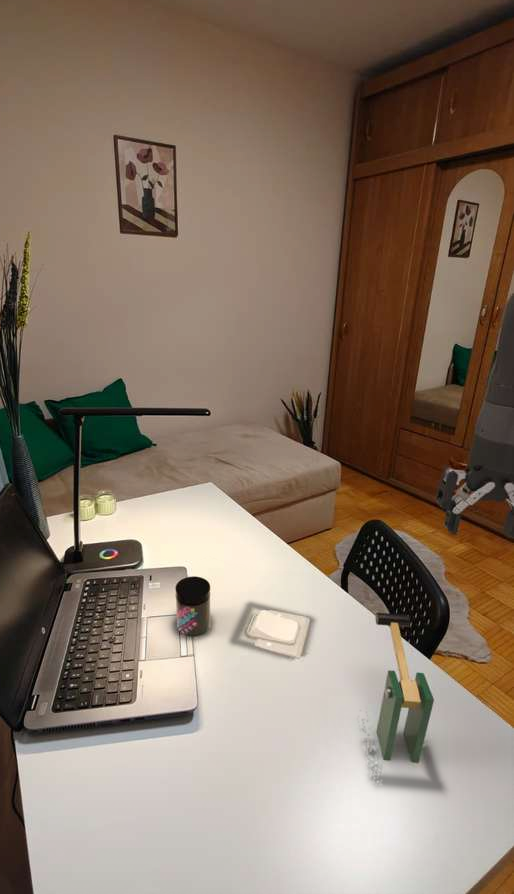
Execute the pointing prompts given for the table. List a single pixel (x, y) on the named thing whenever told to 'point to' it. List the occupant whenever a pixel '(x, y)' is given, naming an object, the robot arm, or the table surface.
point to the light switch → (279, 632)
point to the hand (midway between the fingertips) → (479, 533)
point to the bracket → (414, 721)
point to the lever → (401, 657)
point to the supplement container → (193, 606)
